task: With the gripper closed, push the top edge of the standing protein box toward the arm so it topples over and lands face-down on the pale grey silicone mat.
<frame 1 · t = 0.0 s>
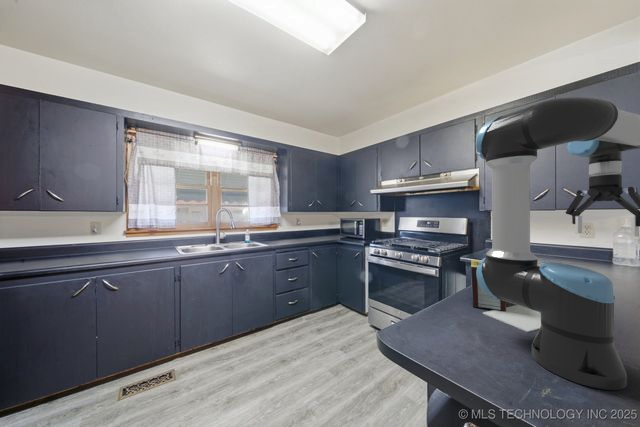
hand: (604, 234, 84), 28 cm above the counter, fingers open, 13 cm apart
protein box: (487, 303, 94), on the counter, touching mat
mat: (523, 317, 82), on the counter
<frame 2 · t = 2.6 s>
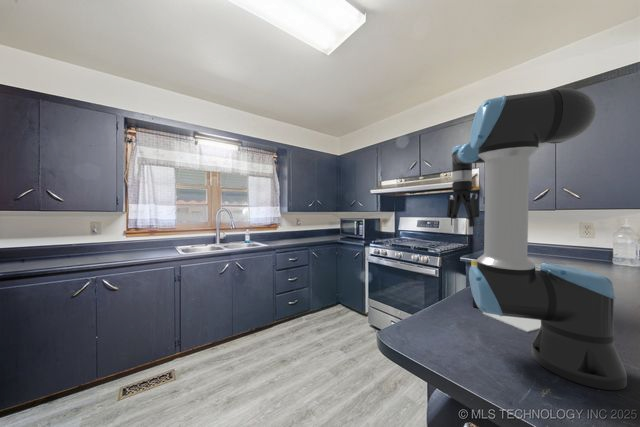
hand: (462, 233, 104), 27 cm above the counter, fingers open, 6 cm apart
nothing on the counter moved.
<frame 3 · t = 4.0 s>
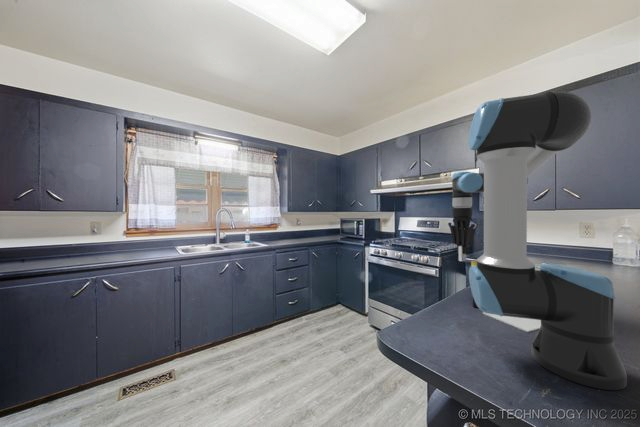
hand: (462, 260, 105), 15 cm above the counter, fingers closed
nothing on the counter moved.
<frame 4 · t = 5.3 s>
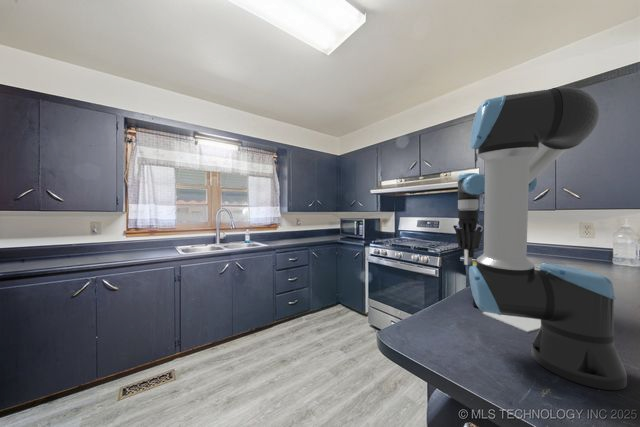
hand: (468, 264, 102), 14 cm above the counter, fingers closed
protein box: (487, 303, 94), on the counter, touching gripper, mat
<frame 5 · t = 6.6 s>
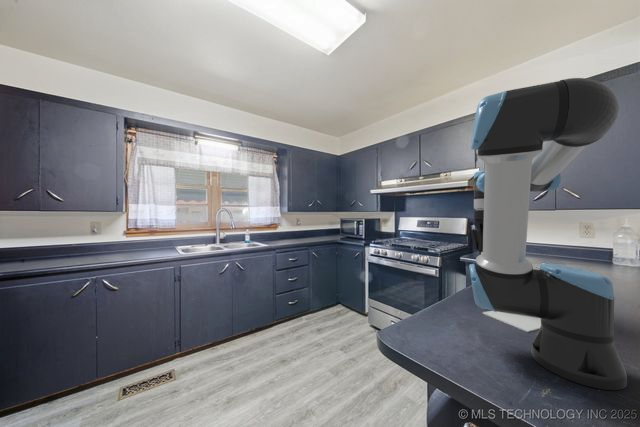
hand: (485, 268, 95), 14 cm above the counter, fingers closed
protein box: (489, 297, 94), point 3 cm above the counter, touching mat
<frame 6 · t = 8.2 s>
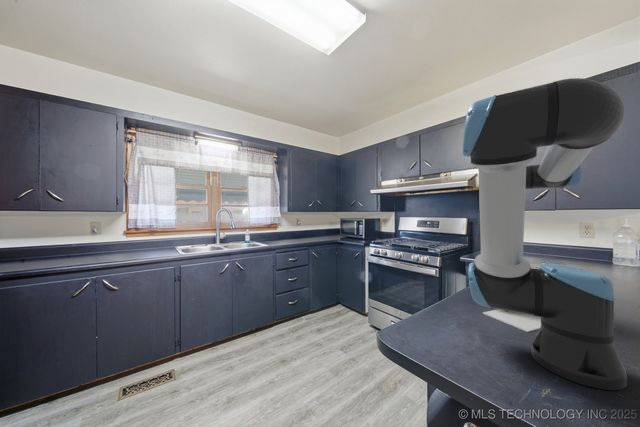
hand: (500, 268, 90), 15 cm above the counter, fingers closed
protein box: (492, 292, 93), point 5 cm above the counter, touching gripper, mat
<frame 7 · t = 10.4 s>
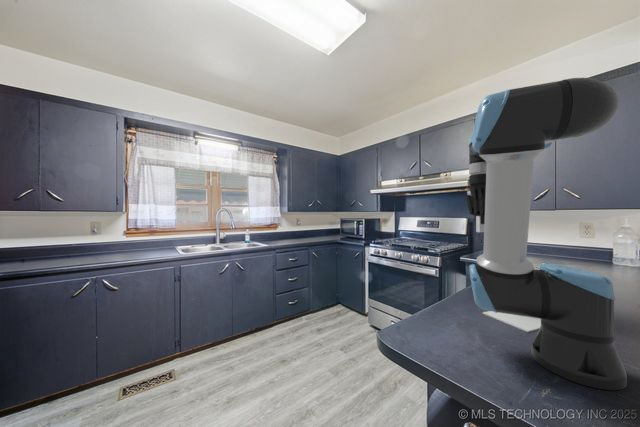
hand: (480, 232, 97), 28 cm above the counter, fingers closed
protein box: (503, 291, 91), point 6 cm above the counter, touching mat
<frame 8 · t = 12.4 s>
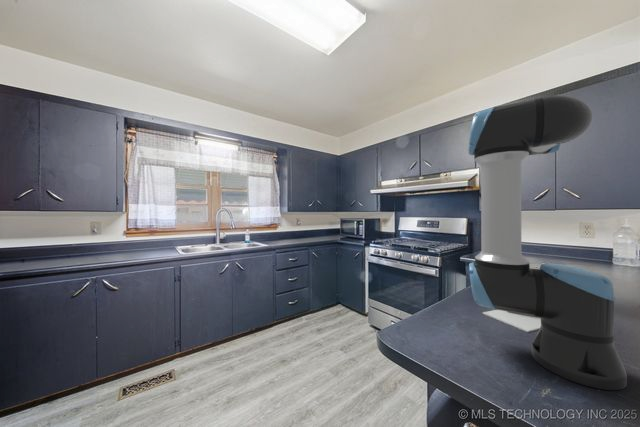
hand: (494, 230, 104), 28 cm above the counter, fingers closed
nothing on the counter moved.
at the end: protein box tilted 90°; protein box inside the target area (4.8 cm from its centre), point 5.6 cm above the counter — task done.
